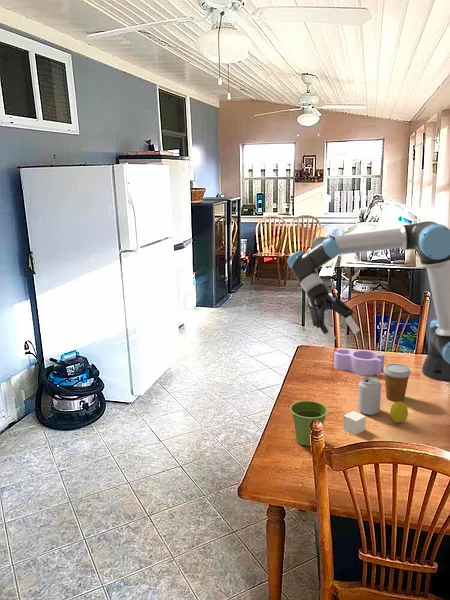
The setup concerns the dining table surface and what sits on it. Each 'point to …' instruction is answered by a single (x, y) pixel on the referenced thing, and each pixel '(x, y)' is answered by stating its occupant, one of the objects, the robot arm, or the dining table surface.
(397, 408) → the lemon
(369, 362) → the clip
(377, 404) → the can
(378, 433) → the dining table surface
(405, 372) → the disposable coffee cup
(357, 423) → the cream wooden block
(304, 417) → the plant pot
